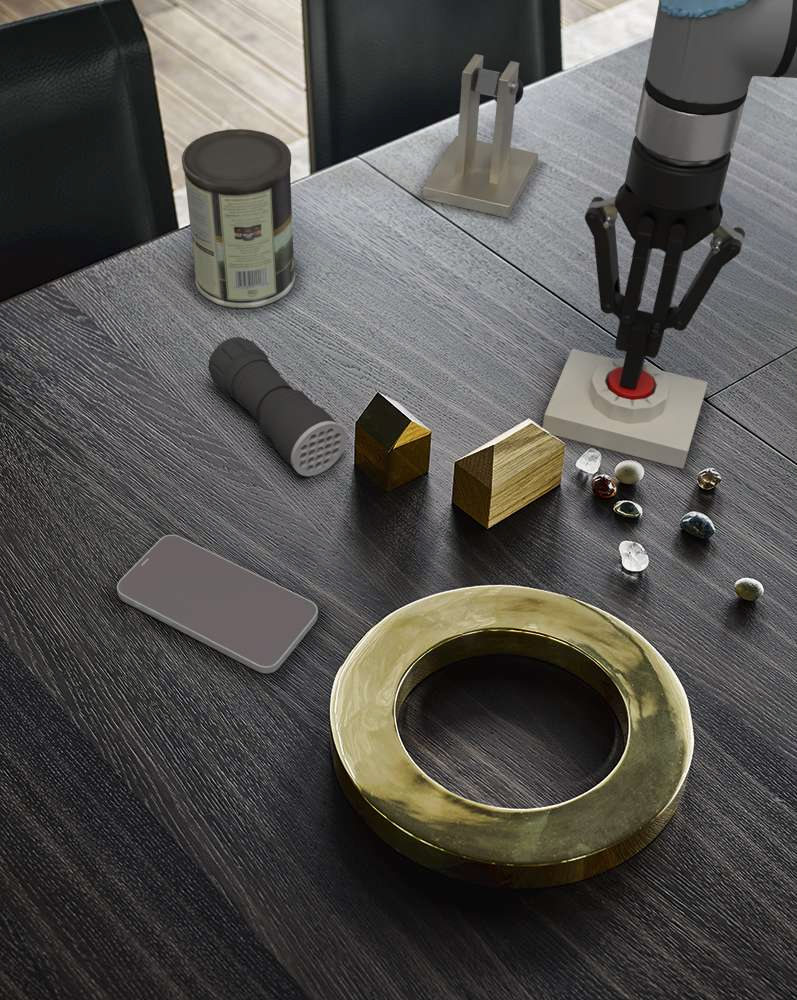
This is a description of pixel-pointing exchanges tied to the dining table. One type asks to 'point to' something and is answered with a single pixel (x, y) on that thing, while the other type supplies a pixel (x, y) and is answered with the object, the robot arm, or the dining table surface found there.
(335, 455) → the flashlight
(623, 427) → the stop box
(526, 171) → the stand
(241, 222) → the coffee can
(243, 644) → the smartphone
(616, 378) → the stop button
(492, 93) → the lever
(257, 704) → the dining table surface
